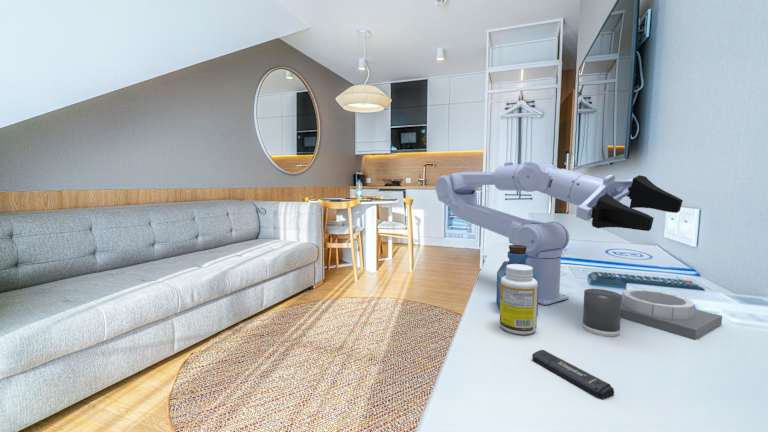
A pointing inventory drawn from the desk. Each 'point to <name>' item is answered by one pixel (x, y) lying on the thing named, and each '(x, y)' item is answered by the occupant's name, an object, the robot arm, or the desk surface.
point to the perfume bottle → (515, 257)
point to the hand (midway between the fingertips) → (666, 215)
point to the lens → (602, 312)
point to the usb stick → (574, 374)
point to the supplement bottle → (518, 300)
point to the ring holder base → (667, 313)
